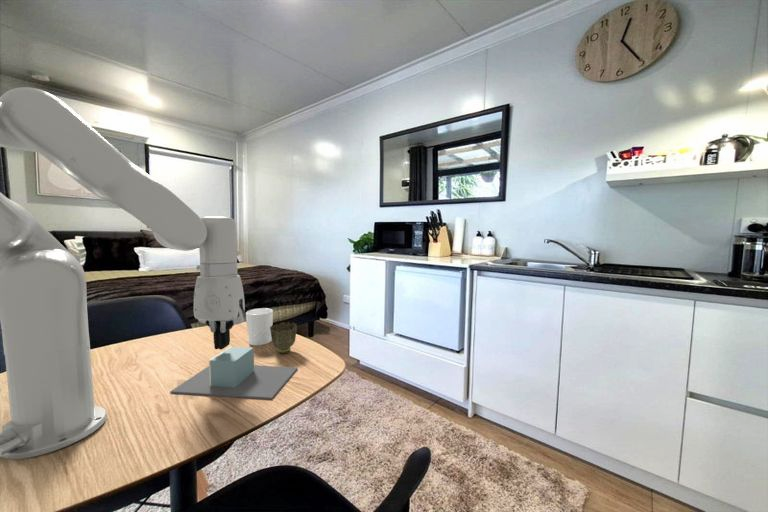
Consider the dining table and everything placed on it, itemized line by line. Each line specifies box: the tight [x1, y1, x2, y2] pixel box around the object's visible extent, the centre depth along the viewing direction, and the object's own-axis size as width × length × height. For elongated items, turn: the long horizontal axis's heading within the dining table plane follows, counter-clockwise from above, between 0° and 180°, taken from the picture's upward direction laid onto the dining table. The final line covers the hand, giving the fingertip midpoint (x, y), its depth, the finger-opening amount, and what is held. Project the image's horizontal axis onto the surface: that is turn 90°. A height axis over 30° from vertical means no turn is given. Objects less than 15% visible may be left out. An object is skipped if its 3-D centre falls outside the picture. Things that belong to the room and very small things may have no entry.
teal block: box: [208, 346, 255, 387], centre depth 70 cm, size 8×6×6 cm
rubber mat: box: [170, 364, 298, 400], centre depth 70 cm, size 14×23×1 cm, turn 85°
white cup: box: [245, 307, 274, 347], centre depth 95 cm, size 8×8×10 cm
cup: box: [270, 321, 298, 355], centre depth 87 cm, size 8×7×8 cm
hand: (222, 346), depth 70 cm, fingers closed
